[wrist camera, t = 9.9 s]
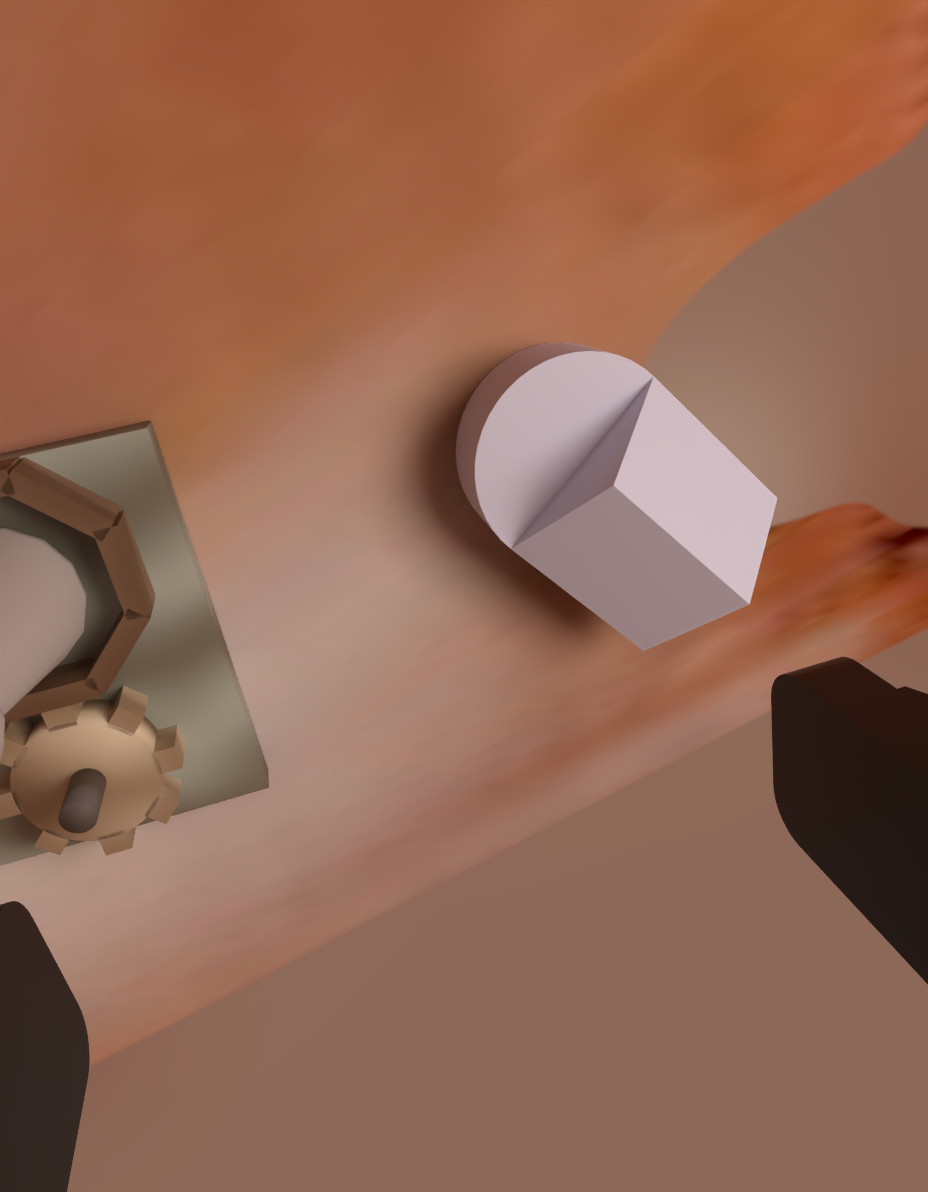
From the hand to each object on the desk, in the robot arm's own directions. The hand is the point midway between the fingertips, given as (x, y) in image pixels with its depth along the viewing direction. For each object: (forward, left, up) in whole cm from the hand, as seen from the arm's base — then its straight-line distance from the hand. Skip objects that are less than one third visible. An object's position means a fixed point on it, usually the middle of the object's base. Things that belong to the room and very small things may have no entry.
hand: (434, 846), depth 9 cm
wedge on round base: (+6, +12, -28) cm, 31 cm away
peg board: (+8, -12, -28) cm, 32 cm away
